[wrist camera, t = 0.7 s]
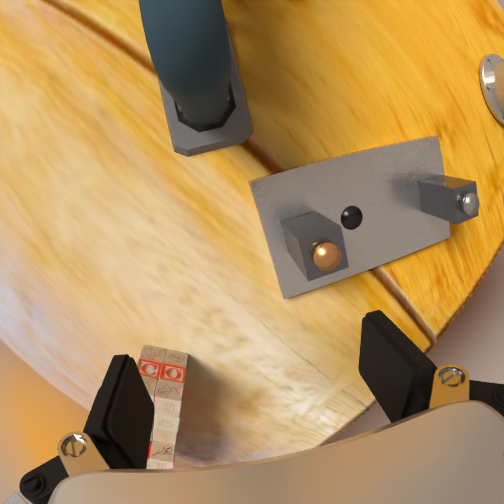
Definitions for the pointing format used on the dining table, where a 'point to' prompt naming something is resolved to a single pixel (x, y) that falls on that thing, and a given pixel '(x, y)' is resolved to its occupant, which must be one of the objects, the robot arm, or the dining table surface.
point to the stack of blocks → (163, 400)
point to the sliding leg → (316, 245)
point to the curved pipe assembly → (196, 74)
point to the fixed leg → (449, 198)
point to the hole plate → (354, 207)
